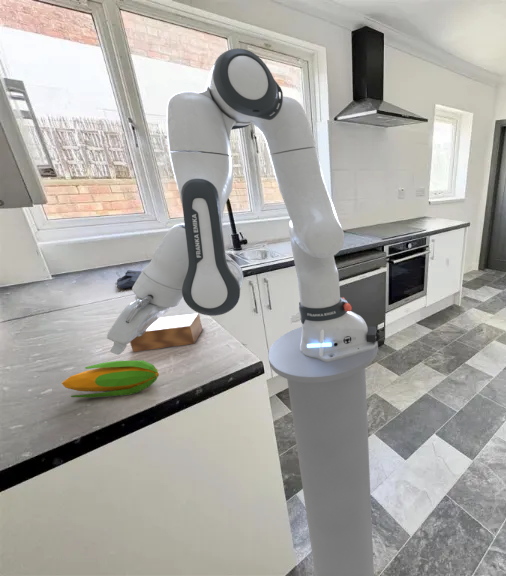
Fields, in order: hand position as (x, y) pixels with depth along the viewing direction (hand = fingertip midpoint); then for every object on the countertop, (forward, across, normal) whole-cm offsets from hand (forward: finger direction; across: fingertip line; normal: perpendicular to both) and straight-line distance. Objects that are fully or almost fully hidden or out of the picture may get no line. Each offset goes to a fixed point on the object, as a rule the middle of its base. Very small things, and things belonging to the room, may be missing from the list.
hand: (127, 342), depth 67 cm
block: (+11, +29, -4) cm, 31 cm away
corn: (+15, +4, -2) cm, 16 cm away
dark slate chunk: (+29, +101, +29) cm, 109 cm away
